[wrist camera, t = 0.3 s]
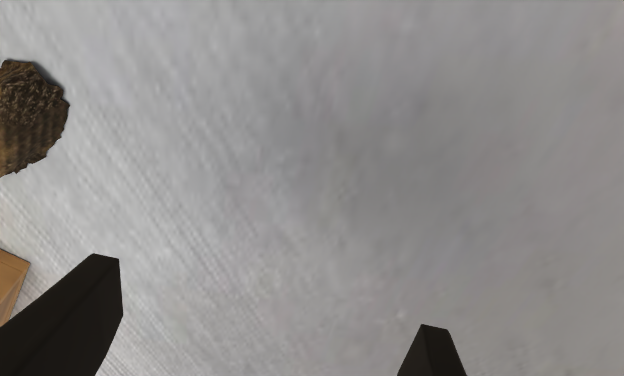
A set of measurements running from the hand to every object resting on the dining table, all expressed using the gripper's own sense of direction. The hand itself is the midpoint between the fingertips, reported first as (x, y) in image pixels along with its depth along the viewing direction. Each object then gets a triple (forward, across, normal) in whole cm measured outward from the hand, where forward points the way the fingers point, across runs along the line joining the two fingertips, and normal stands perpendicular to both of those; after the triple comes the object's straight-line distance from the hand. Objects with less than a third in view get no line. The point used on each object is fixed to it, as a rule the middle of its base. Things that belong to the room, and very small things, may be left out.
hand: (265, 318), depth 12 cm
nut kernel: (+10, +13, +3) cm, 17 cm away
